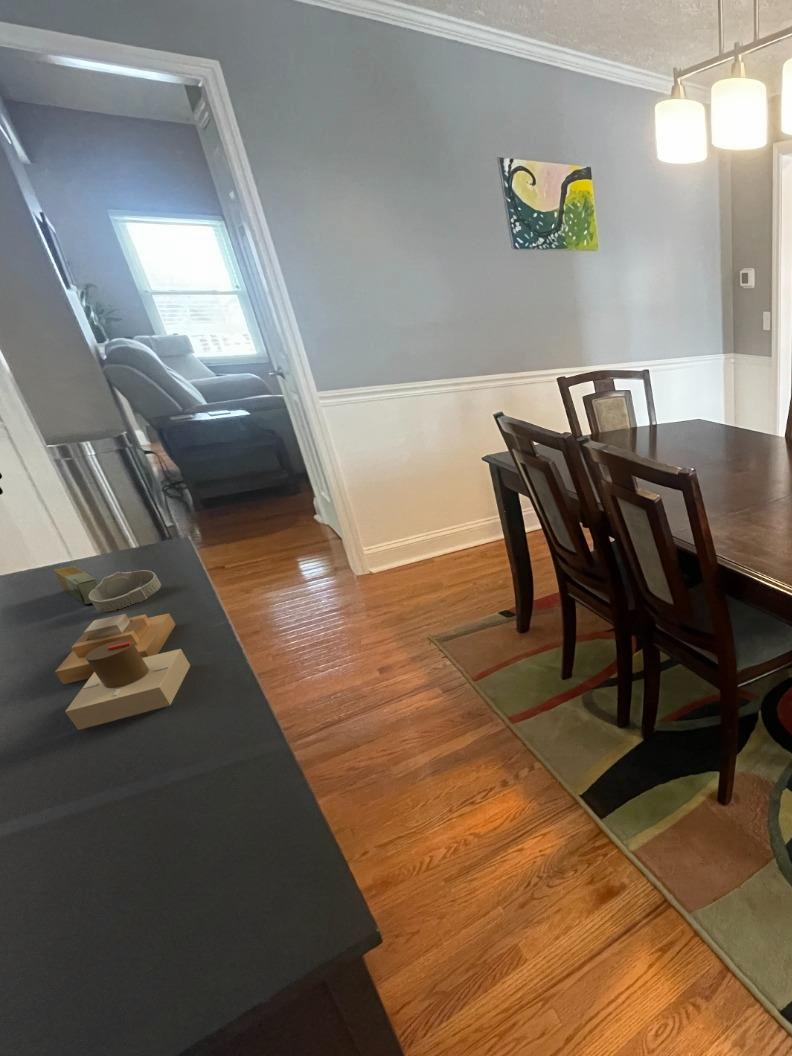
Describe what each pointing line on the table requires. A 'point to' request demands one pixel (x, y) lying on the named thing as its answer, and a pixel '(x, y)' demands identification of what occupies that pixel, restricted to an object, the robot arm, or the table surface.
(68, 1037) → the table surface
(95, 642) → the block
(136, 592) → the grey woven basket
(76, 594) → the medication box
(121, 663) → the volume knob
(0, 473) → the robot arm
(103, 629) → the grey square frustum
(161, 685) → the volume panel
